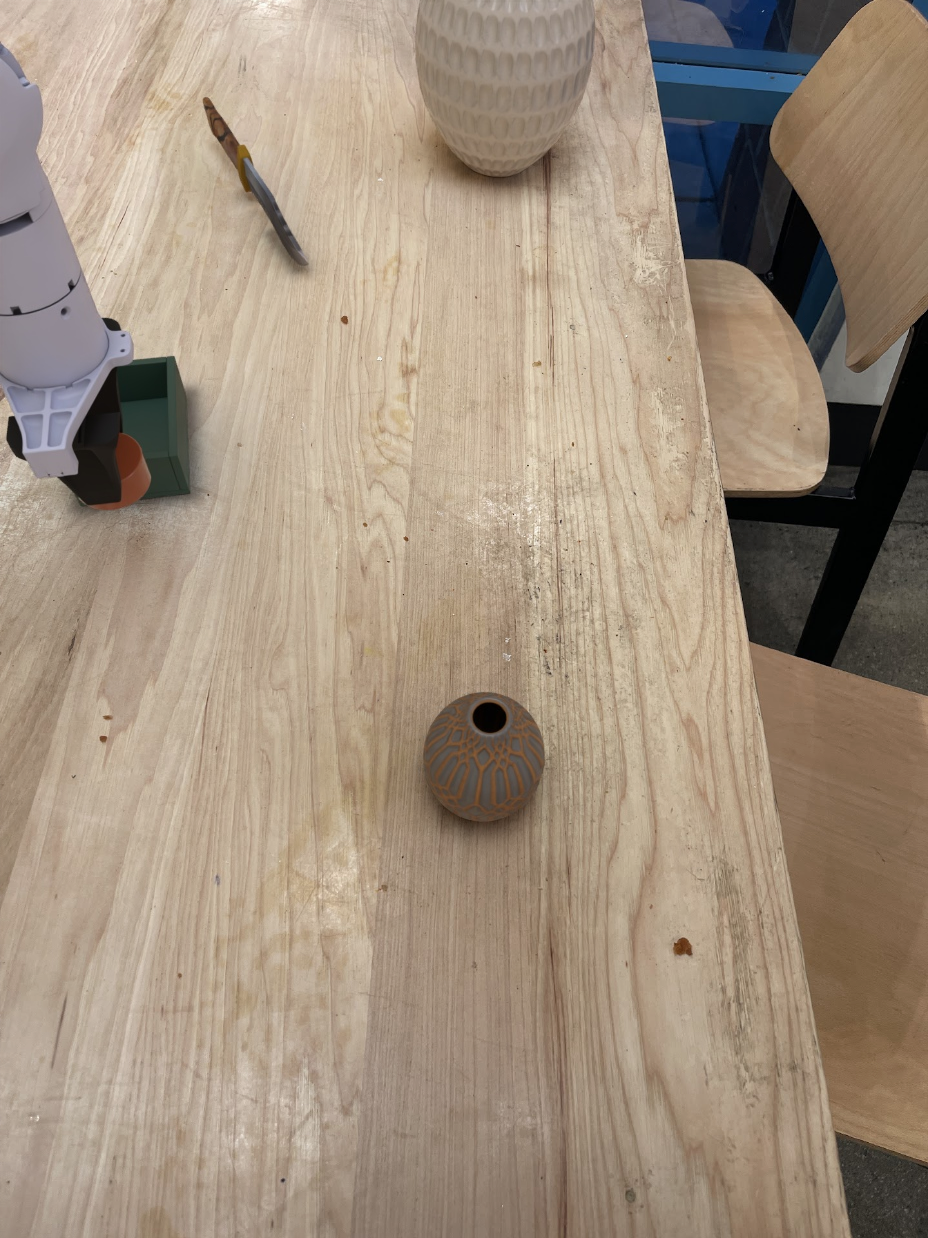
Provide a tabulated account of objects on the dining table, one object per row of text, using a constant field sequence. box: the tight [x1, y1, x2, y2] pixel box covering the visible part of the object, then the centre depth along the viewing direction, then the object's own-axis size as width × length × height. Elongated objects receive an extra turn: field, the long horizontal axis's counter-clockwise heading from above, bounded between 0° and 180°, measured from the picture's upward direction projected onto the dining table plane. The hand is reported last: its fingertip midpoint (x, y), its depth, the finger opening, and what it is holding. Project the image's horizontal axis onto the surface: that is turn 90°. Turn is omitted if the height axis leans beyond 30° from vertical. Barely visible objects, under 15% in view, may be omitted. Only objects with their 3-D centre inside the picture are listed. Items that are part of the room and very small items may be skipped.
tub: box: [73, 355, 191, 507], centre depth 65 cm, size 8×10×4 cm
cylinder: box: [78, 432, 151, 511], centre depth 54 cm, size 5×5×2 cm
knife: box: [202, 96, 310, 267], centre depth 81 cm, size 25×1×5 cm, turn 28°
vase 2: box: [422, 691, 546, 822], centre depth 50 cm, size 7×7×9 cm
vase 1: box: [414, 0, 596, 178], centre depth 80 cm, size 16×16×22 cm
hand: (105, 467), depth 54 cm, fingers closed on cylinder, 4 cm apart
